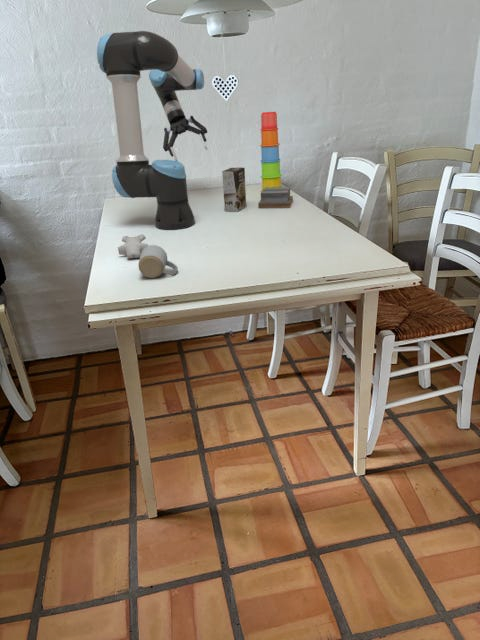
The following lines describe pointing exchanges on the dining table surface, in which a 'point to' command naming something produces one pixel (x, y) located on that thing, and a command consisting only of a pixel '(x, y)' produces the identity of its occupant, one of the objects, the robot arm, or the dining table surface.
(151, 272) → the ceramic mug
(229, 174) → the coffee box
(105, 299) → the dining table surface
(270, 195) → the tower stand
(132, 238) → the grey teddy bear
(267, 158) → the stacking cups
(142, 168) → the robot arm
